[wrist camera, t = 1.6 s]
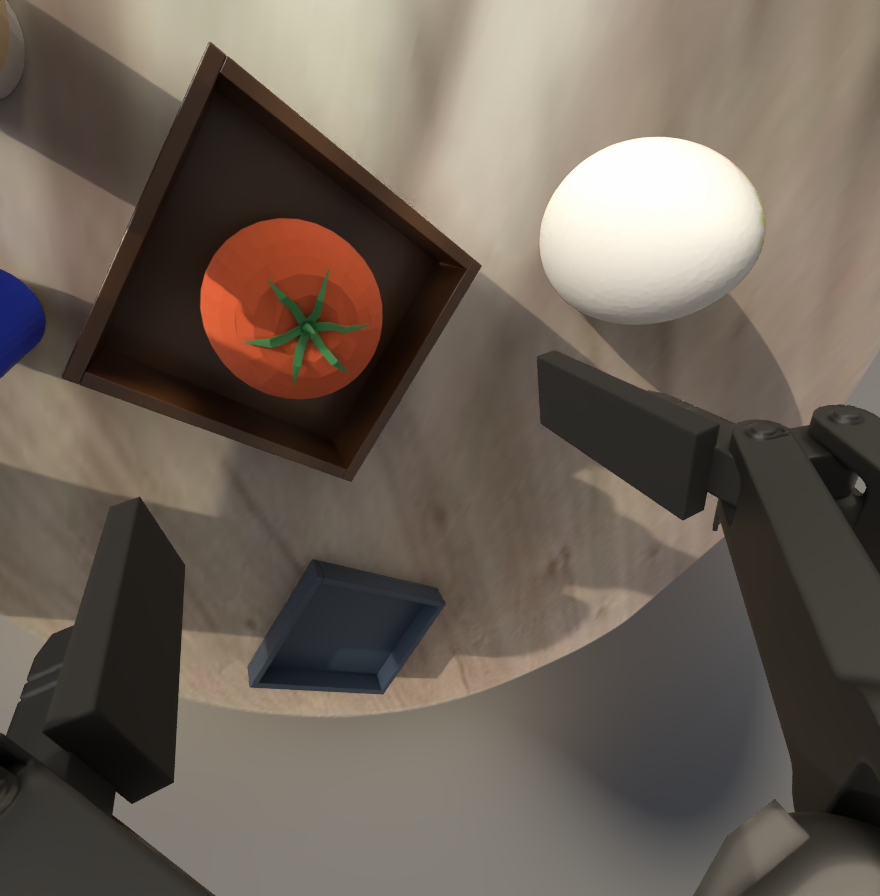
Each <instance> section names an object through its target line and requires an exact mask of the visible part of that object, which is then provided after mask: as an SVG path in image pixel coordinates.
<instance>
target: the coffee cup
mask: <svg viewBox="0 0 880 896" xmlns="http://www.w3.org/2000/svg"><path fill="white" fill-rule="evenodd" d="M24 64H25V44H24V38H23V33H22V30H21V27H20V25H19V22H18V20H17V17H16V15H15V13H14V11H13V10H12V8H11V7H10V5H9V3H8V2H7V0H0V100H1V99H3V98H4V97H6V96H7V95H9V94H10V93H11V92H12V90H13V89H14V88H15V87H16V86H17V84H18V82H19V80H20V78H21V76H22V73H23V68H24Z"/></svg>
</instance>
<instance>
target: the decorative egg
mask: <svg viewBox="0 0 880 896" xmlns="http://www.w3.org/2000/svg"><path fill="white" fill-rule="evenodd" d="M764 237H765V215H764V210H763V206H762V203H761V201H760V198H759V196H758V194H757V192H756V190H755V188H754V187H753V185H752V184H751V182H750V181H749V179H748V178H747V177H746V176H745V174H744V173H743V172H742V171H741V170H740V169H739V168H738V167H737V166H736V165H735V164H734V163H733V162H731V161H730V160H728V159H727V158H726V157H724V156H723V155H721V154H719V153H718V152H716V151H714V150H712V149H710V148H708V147H706V146H703V145H700V144H697V143H694V142H691V141H687V140H683V139H676V138H668V137H646V138H638V139H633V140H628V141H624V142H621V143H618V144H614V145H611V146H609V147H607V148H605V149H603V150H601V151H599V152H597V153H595V154H594V155H592V156H590V157H589V158H587V159H586V160H584V161H583V162H582V163H581V164H579V165H578V166H577V167H576V168H575V169H574V170H573V171H572V172H571V173H569V174H568V176H567V177H566V178H565V179H564V180H563V182H562V183H561V184H560V185H559V187H558V188H557V190H556V191H555V193H554V194H553V196H552V198H551V200H550V202H549V204H548V206H547V209H546V211H545V214H544V217H543V221H542V225H541V231H540V254H541V260H542V264H543V267H544V270H545V273H546V275H547V277H548V279H549V281H550V283H551V285H552V286H553V288H554V289H555V290H556V292H557V293H558V294H559V295H560V296H561V297H562V298H563V299H564V300H565V301H566V302H567V303H568V304H570V305H571V306H572V307H574V308H575V309H577V310H578V311H580V312H582V313H584V314H585V315H588V316H590V317H593V318H595V319H598V320H602V321H605V322H609V323H616V324H626V325H645V324H655V323H661V322H666V321H670V320H675V319H678V318H681V317H684V316H687V315H689V314H692V313H694V312H697V311H699V310H701V309H703V308H705V307H707V306H709V305H710V304H712V303H714V302H715V301H717V300H718V299H720V298H721V297H723V296H724V295H726V294H727V293H729V292H730V291H731V290H732V289H733V288H734V287H736V286H737V285H738V284H739V283H740V282H741V281H742V280H743V279H744V278H745V276H746V275H747V274H748V273H749V271H750V270H751V269H752V267H753V266H754V264H755V262H756V261H757V259H758V257H759V254H760V252H761V249H762V246H763V243H764Z"/></svg>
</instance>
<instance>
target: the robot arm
mask: <svg viewBox="0 0 880 896" xmlns="http://www.w3.org/2000/svg"><path fill="white" fill-rule="evenodd" d="M537 368H538V386H539V404H540V422H541V424H542V425H544V426H545V427H547V428H548V429H549V430H551V431H552V432H554V433H555V434H557V435H558V436H560V437H561V438H563V439H564V440H566V441H567V442H568V443H570V444H571V445H573V446H574V447H576V448H577V449H579V450H580V451H582V452H583V453H585V454H586V455H588V456H589V457H590V458H592V459H593V460H595V461H596V462H598V463H599V464H601V465H602V466H604V467H605V468H607V469H608V470H609V471H611V472H612V473H614V474H615V475H617V476H618V477H620V478H621V479H623V480H624V481H626V482H627V483H629V484H630V485H631V486H633V487H634V488H636V489H637V490H639V491H640V492H642V493H643V494H645V495H646V496H648V497H649V498H650V499H652V500H653V501H655V502H656V503H658V504H659V505H661V506H662V507H664V508H665V509H667V510H668V511H670V512H671V513H672V514H674V515H675V516H677V517H678V518H680V519H681V520H685V519H687V518H689V517H691V516H693V515H695V514H696V513H698V512H700V511H702V510H704V507H705V501H706V496H707V492H709V493H711V494H712V495H714V496H716V497H717V498H718V503H717V507H716V512H715V517H714V522H713V531H717V529H718V525H719V524H720V523H721V525H722V528H723V532H724V535H725V539H726V542H727V545H728V549H729V552H730V555H731V559H732V562H733V566H734V569H735V572H736V576H737V579H738V582H739V586H740V589H741V592H742V596H743V599H744V603H745V606H746V609H747V613H748V616H749V620H750V623H751V626H752V630H753V633H754V636H755V640H756V643H757V646H758V650H759V653H760V657H761V660H762V663H763V666H764V670H765V673H766V677H767V680H768V683H769V687H770V690H771V694H772V697H773V700H774V704H775V707H776V710H777V714H778V717H779V721H780V724H781V728H782V731H783V734H784V738H785V741H786V744H787V748H788V751H789V754H790V759H791V763H792V771H793V776H792V777H793V778H792V795H793V804H794V809H795V812H793V813H787V812H786V811H785V810H784V808H783V807H782V806H781V805H780V804H779V803H778V802H777V801H776V800H775V799H774V800H773V801H772V802H771V803H769V804H768V805H767V806H765V807H764V808H763V809H761V810H760V811H759V812H757V814H755V815H754V816H752V817H751V818H750V819H749V820H747V821H746V822H745V823H743V824H742V825H741V826H739V827H738V828H737V829H736V830H734V831H733V832H732V833H730V834H729V835H728V836H727V837H726V839H725V841H724V842H723V844H722V846H721V848H720V849H719V851H718V853H717V855H716V856H715V858H714V860H713V862H712V864H711V865H710V867H709V869H708V870H707V872H706V874H705V876H704V878H703V880H702V881H701V883H700V885H699V886H698V888H697V890H696V892H695V893H694V895H693V896H880V418H879V417H878V416H876V415H875V414H873V413H870V412H868V411H866V410H864V409H860V408H857V407H855V406H850V405H847V406H845V405H827V406H823V407H819V408H818V409H816V410H815V411H814V412H813V416H812V419H811V422H810V425H808V426H802V427H797V428H791V429H789V428H787V427H785V426H783V425H781V424H779V423H775V422H771V421H767V420H746V421H743V422H740V423H737V424H735V423H733V422H730V421H728V420H726V419H723V418H721V417H719V416H716V415H714V414H712V413H709V412H707V411H705V410H703V409H700V408H698V407H695V408H694V406H693V405H691V404H689V403H686V402H682V401H681V400H679V399H677V398H675V397H672V396H670V395H668V394H664V393H659V392H654V391H649V390H648V391H645V390H643V389H640V388H638V387H636V386H634V385H631V384H629V383H627V382H625V381H622V380H620V379H618V378H616V377H614V376H611V375H609V374H607V373H605V372H602V371H600V370H598V369H596V368H593V367H591V366H589V365H587V364H584V363H582V362H580V361H578V360H575V359H573V358H571V357H569V356H566V355H564V354H562V353H560V352H558V351H555V350H554V351H552V352H549V353H546V354H543V355H540V356H537ZM858 476H859V477H861V478H862V480H863V481H864V483H865V485H866V487H867V488H866V490H865V492H864V493H863V494H862V493H860V492H859V491H858V490H857V489H856V488H855V487H854V486H855V484H856V481H857V479H858ZM184 578H185V564H184V563H183V561H182V560H181V558H180V557H179V555H178V554H177V552H176V551H175V549H174V548H173V546H172V545H171V543H170V542H169V540H168V539H167V537H166V535H165V534H164V532H163V531H162V529H161V528H160V526H159V525H158V523H157V522H156V520H155V519H154V517H153V516H152V514H151V513H150V511H149V510H148V508H147V507H146V505H145V504H144V502H143V501H142V499H141V498H140V497H137V498H135V499H132V500H129V501H126V502H123V503H120V504H118V505H115V506H112V507H110V509H109V512H108V515H107V518H106V522H105V525H104V528H103V532H102V535H101V538H100V542H99V545H98V548H97V552H96V555H95V558H94V561H93V565H92V568H91V571H90V575H89V578H88V581H87V585H86V588H85V591H84V595H83V598H82V601H81V604H80V608H79V611H78V614H77V618H76V621H75V624H74V626H71V627H69V628H66V629H64V630H61V631H59V632H57V633H54V634H52V635H51V637H50V638H49V639H48V640H47V642H46V643H45V644H44V646H43V647H42V649H41V650H40V651H39V652H38V654H37V655H36V657H35V658H34V661H33V664H32V666H31V669H30V672H29V674H28V677H27V681H28V683H26V684H25V685H24V688H23V691H22V694H21V696H20V698H21V701H20V702H18V704H17V707H16V710H15V713H14V715H13V718H12V721H11V723H10V726H9V729H8V732H7V734H6V736H5V735H4V734H2V733H0V896H215V895H214V894H212V893H211V892H210V891H209V890H207V889H206V888H205V887H204V886H202V885H201V884H200V883H198V882H197V881H196V880H195V879H193V878H192V877H191V876H189V875H188V874H187V873H186V872H185V871H183V870H182V869H181V868H179V867H178V866H177V865H176V864H174V863H173V862H172V861H170V860H169V859H168V858H167V857H165V856H164V855H163V854H162V853H160V852H159V851H157V849H155V848H154V847H153V846H151V845H150V844H149V843H148V842H146V841H145V840H144V839H143V838H141V837H140V836H139V835H137V834H136V833H135V832H134V831H132V830H131V829H130V828H129V827H127V826H126V825H125V824H124V823H122V822H121V821H120V820H118V819H117V818H116V817H114V816H113V815H112V813H113V806H114V799H115V793H116V792H117V793H119V794H120V795H121V796H123V797H124V798H125V799H126V800H127V801H129V802H130V803H131V804H133V803H135V802H137V801H139V800H141V799H142V798H144V797H146V796H148V795H150V794H152V793H154V792H156V791H158V790H160V789H162V788H164V787H166V786H168V785H170V784H172V783H173V782H174V768H175V749H176V730H177V729H176V728H177V711H178V710H177V709H178V692H179V673H180V654H181V635H182V616H183V597H184Z"/></svg>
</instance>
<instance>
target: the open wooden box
mask: <svg viewBox="0 0 880 896" xmlns="http://www.w3.org/2000/svg"><path fill="white" fill-rule="evenodd" d="M277 218H286V219H300V220H304V221H308V222H312V223H316V224H318V225H320V226H322V227H324V228H327V229H329V230H331V231H333V232H334V233H336V234H337V235H338V236H340V237H341V238H342V239H344V240H345V241H347V242H348V243H349V244H350V245H351V246H352V247H353V248H354V249H355V250H356V251H357V252H358V253H359V255H360V256H361V257H362V258H363V259H364V261H365V262H366V264H367V265H368V267H369V268H370V270H371V272H372V273H373V276H374V278H375V281H376V283H377V286H378V288H379V292H380V297H381V302H382V329H381V334H380V340H379V343H378V345H377V348H376V351H375V353H374V355H373V357H372V358H371V360H370V362H369V363H368V365H367V367H366V368H365V369H364V370H363V371H362V372H361V373H360V374H359V375H358V377H357V378H355V379H354V380H353V381H351V382H350V383H349V384H348V385H346V386H345V387H343V388H341V389H339V390H337V391H335V392H333V393H331V394H328V395H324V396H321V397H318V398H310V399H288V398H282V397H278V396H274V395H270V394H266V393H264V392H262V391H259V390H257V389H255V388H253V387H251V386H249V385H248V384H246V383H245V382H243V381H242V380H241V379H239V378H238V377H236V376H235V375H234V374H233V373H232V372H231V371H230V370H229V369H228V368H227V367H226V366H225V365H224V364H223V362H222V361H221V359H220V358H219V356H218V355H217V353H216V352H215V350H214V349H213V347H212V345H211V343H210V341H209V338H208V336H207V334H206V331H205V329H204V326H203V320H202V315H201V310H200V302H201V287H202V283H203V279H204V275H205V271H206V269H207V268H208V266H209V264H210V262H211V260H212V258H213V256H214V254H215V253H216V252H217V251H218V250H219V248H220V247H221V246H222V245H223V244H224V243H225V241H226V240H228V239H229V238H230V237H232V236H233V235H234V234H236V233H237V232H239V231H240V230H241V229H243V228H246V227H248V226H250V225H253V224H255V223H257V222H260V221H266V220H271V219H277ZM480 268H481V265H480V264H479V263H478V262H477V261H476V260H474V259H473V258H472V257H471V256H470V255H468V254H467V253H466V252H465V251H463V250H462V249H461V248H460V247H459V246H457V245H456V244H455V243H454V242H453V241H451V240H450V239H449V238H448V237H447V236H445V235H444V234H443V233H442V232H440V231H439V230H438V229H437V228H436V227H434V226H433V225H432V224H431V223H430V222H428V221H427V220H426V219H425V218H423V217H422V216H421V215H420V214H419V213H417V212H416V211H415V210H414V209H413V208H411V207H410V206H409V205H408V204H407V203H405V202H404V201H403V200H402V199H400V198H399V197H398V196H397V195H396V194H394V193H393V192H392V191H391V190H390V189H388V188H387V187H386V186H385V185H384V184H382V183H381V182H380V181H379V180H377V179H376V178H375V177H374V176H373V175H371V174H370V173H369V172H368V171H367V170H365V169H364V168H363V167H362V166H360V165H359V164H358V163H357V162H356V161H354V160H353V159H352V158H351V157H350V156H348V155H347V154H346V153H345V152H344V151H342V150H341V149H340V148H339V147H337V146H336V145H335V144H334V143H333V142H331V141H330V140H329V139H328V138H327V137H325V136H324V135H323V134H322V133H321V132H319V131H318V130H317V129H316V128H314V127H313V126H312V125H311V124H310V123H308V122H307V121H306V120H305V119H304V118H302V117H301V116H300V115H299V114H298V113H296V112H295V111H294V110H293V109H291V108H290V107H289V106H288V105H287V104H285V103H284V102H283V101H282V100H281V99H279V98H278V97H277V96H276V95H274V94H273V93H272V92H271V91H270V90H268V89H267V88H266V87H265V86H264V85H262V84H261V83H260V82H259V81H258V80H256V79H255V78H254V77H253V76H251V75H250V74H249V73H248V72H247V71H245V70H244V69H243V68H242V67H241V66H239V65H238V64H237V63H236V62H235V61H233V60H232V59H231V58H230V57H228V56H227V57H226V54H225V53H223V52H222V51H221V50H220V49H218V48H217V47H216V46H215V45H214V44H212V43H211V42H209V43H208V45H207V47H206V50H205V52H204V54H203V56H202V59H201V61H200V63H199V65H198V68H197V70H196V72H195V74H194V77H193V79H192V81H191V84H190V86H189V88H188V90H187V93H186V95H185V97H184V99H183V102H182V104H181V106H180V109H179V111H178V113H177V115H176V118H175V120H174V122H173V124H172V127H171V129H170V131H169V134H168V136H167V138H166V140H165V143H164V145H163V147H162V149H161V152H160V154H159V156H158V159H157V161H156V163H155V165H154V168H153V170H152V172H151V174H150V177H149V179H148V181H147V184H146V186H145V188H144V190H143V193H142V195H141V197H140V199H139V202H138V204H137V206H136V209H135V211H134V213H133V215H132V218H131V220H130V222H129V224H128V227H127V229H126V231H125V234H124V236H123V238H122V240H121V243H120V245H119V247H118V249H117V252H116V254H115V256H114V259H113V261H112V263H111V265H110V268H109V270H108V272H107V274H106V277H105V279H104V281H103V284H102V286H101V288H100V290H99V293H98V295H97V297H96V299H95V302H94V304H93V306H92V309H91V311H90V313H89V315H88V318H87V320H86V322H85V324H84V327H83V329H82V331H81V334H80V336H79V338H78V340H77V343H76V345H75V347H74V349H73V352H72V354H71V356H70V359H69V361H68V363H67V365H66V368H65V370H64V372H63V374H62V378H63V379H66V380H69V381H71V382H74V383H77V384H79V383H80V385H82V386H85V387H87V388H90V389H93V390H96V391H99V392H101V393H104V394H107V395H110V396H113V397H115V398H118V399H121V400H124V401H127V402H129V403H132V404H135V405H138V406H141V407H143V408H146V409H149V410H152V411H155V412H157V413H160V414H163V415H166V416H169V417H171V418H174V419H177V420H180V421H183V422H185V423H188V424H191V425H194V426H197V427H199V428H202V429H205V430H208V431H211V432H213V433H216V434H219V435H222V436H225V437H227V438H230V439H233V440H236V441H239V442H241V443H244V444H247V445H250V446H253V447H255V448H258V449H261V450H264V451H267V452H269V453H272V454H275V455H278V456H280V457H283V458H286V459H289V460H292V461H294V462H297V463H300V464H303V465H306V466H308V467H311V468H314V469H317V470H320V471H322V472H325V473H328V474H331V475H334V476H336V477H339V478H342V479H345V480H348V481H350V482H351V481H352V480H353V478H354V476H355V475H356V473H357V471H358V470H359V468H360V467H361V465H362V463H363V462H364V460H365V458H366V457H367V455H368V453H369V452H370V450H371V448H372V447H373V445H374V443H375V442H376V440H377V438H378V437H379V435H380V433H381V432H382V430H383V428H384V427H385V425H386V424H387V422H388V420H389V419H390V417H391V415H392V414H393V412H394V410H395V409H396V407H397V405H398V404H399V402H400V400H401V399H402V397H403V395H404V394H405V392H406V390H407V389H408V387H409V385H410V384H411V382H412V381H413V379H414V377H415V376H416V374H417V372H418V371H419V369H420V367H421V366H422V364H423V362H424V361H425V359H426V357H427V356H428V354H429V352H430V351H431V349H432V347H433V346H434V344H435V342H436V341H437V339H438V338H439V336H440V334H441V333H442V331H443V329H444V328H445V326H446V324H447V323H448V321H449V319H450V318H451V316H452V314H453V313H454V311H455V309H456V308H457V306H458V304H459V303H460V301H461V299H462V298H463V296H464V294H465V293H466V291H467V290H468V288H469V286H470V285H471V283H472V281H473V280H474V278H475V276H476V275H477V273H478V271H479V270H480Z"/></svg>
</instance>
